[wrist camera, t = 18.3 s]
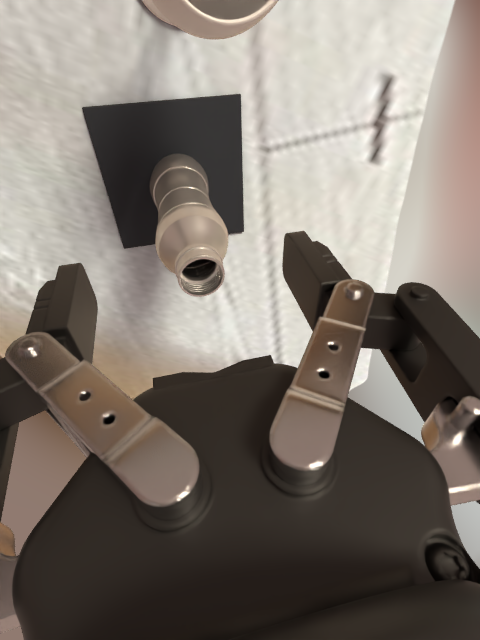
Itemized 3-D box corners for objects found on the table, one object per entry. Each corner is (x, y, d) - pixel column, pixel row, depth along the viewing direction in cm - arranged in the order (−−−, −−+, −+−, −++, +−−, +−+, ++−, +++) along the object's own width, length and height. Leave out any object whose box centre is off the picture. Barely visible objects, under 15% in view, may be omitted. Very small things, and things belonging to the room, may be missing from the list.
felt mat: (124, 247, 45) (124, 248, 45) (82, 107, 34) (82, 107, 34) (243, 230, 48) (243, 231, 48) (240, 94, 37) (240, 94, 36)
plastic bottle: (214, 163, 41) (259, 254, 26) (190, 213, 44) (219, 318, 30) (160, 137, 37) (179, 224, 23) (140, 193, 41) (145, 299, 27)
